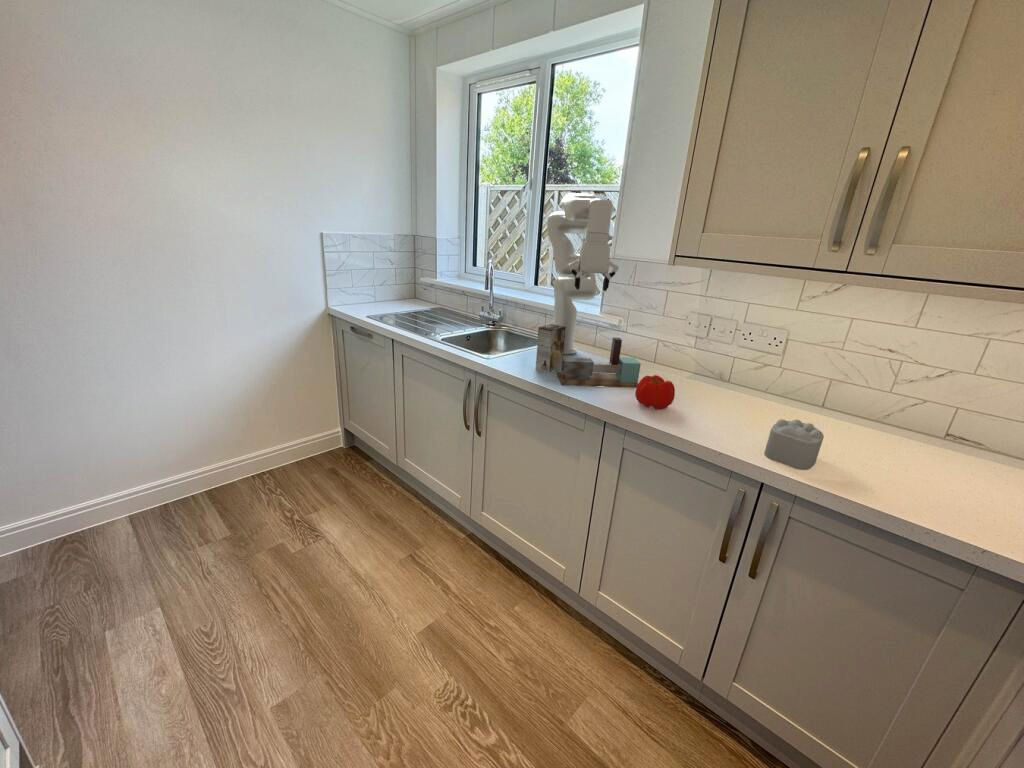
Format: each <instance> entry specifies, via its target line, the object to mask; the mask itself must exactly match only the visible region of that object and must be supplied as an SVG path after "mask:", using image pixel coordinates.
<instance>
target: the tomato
mask: <svg viewBox="0 0 1024 768" xmlns="http://www.w3.org/2000/svg"><path fill="white" fill-rule="evenodd" d="M675 393H676V389H675V385H674V384H673V382H672V381H670V380H666V381H665V379H664V378H663V377H661V376H660V375H656V374H654V375H645V376H643V377H642V378H641V379H640V380H639V381H638V385H637V388H635V398H636V400H637V402H638V403H639V404H640V405H642V406H643V407H645V408H653V409H655V410H658V411H661V410H665V409H667V408H668V407H670V405H672V404H673V402H674V400H675V396H676V394H675Z"/></svg>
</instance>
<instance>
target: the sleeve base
mask: <svg viewBox="0 0 1024 768" xmlns="http://www.w3.org/2000/svg"><path fill="white" fill-rule="evenodd" d="M594 362H595V361H593V360H592V358H587V357H585V358H584V357H565V356H563V358H562V368H560V369H561V370H560V371H559V370H556V376H557V378H559V379H558V381H559V382H560V385H561V386H569V385H572V386H573V385H574V387H596V386H604V387H603V388H605V387H606V388H623V389H624V388H627V389H628V388H629V389H636V388H637V385H638V383H639V382H638V383H628V382H620V381H619V380H618V378H617V377H616V376H615V374H616V373H593V365H594Z"/></svg>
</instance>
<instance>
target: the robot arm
mask: <svg viewBox="0 0 1024 768" xmlns="http://www.w3.org/2000/svg"><path fill="white" fill-rule="evenodd" d="M561 209H562V211H554V212H552V213H551V214H550V215H549V216H548V218H547V221H546V229H547V236H548V239H549V241H550V244H551V247H552V251H553V260H554V268H555V272H556V275H557V276H559V277H557V278H556V279H555V281H554V283H553V284H554V285H553V293H554V304H553V305H554V309H553V320H552V324H554V325H559V326H565V327H566V329H565V340H564V351H563V355H574V354H576V353H577V348H576V347H574V341H575V332H576V325H577V324H576V323H577V322H576V321H577V314H578V312H577V311H578V310H577V308H576V306H575V304H574V303H573V301H590V300H593V299H595V297H596V295H597V292H598V291H597V289H598V288H597V279H596V278H597V277H596V274H603V276H604V278H603V284H602V290H603V291H604V292H607V290H608V289H609V286H610V280H611V279H612V278H613V277H614V276H615V275H616V273H617V272H618V270H619V269H620V266H618V265H617V264H615V263H614V262H612V261H611V248H610V247H611V246H610V243H609V241H613V239H614V237H613V235H610V228H611V220H612V213H613V201H612V200H610V199H606V198H598V197H597V196H596V195H595V194H590V193H580V192H579V193H578V192H577V193H576V192H571V193H568V194H565V196H563V198H562V199H561ZM565 234H573V235H574V234H575V235H583V234H585V241H583V242H582V245H581V247H580V251H579V253H575V251H574V244H573V243H572V241H571V240H570V238H569V237H567V236H566V235H565ZM610 267H611V268H612V271H610V272H609V269H610Z"/></svg>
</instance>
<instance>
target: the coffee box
mask: <svg viewBox="0 0 1024 768" xmlns="http://www.w3.org/2000/svg"><path fill="white" fill-rule="evenodd" d="M565 329H566V327H565V326H559V325H554V324H553V323H551V324H546V325H543V326H539V327H538V332H537V347H536V361H535V370H537V369H538V370H537V371H540V370H542V371H541V372H544V371H545V373H548V372H549V373H548V374H550V373H553V372H555V371H558V370H559V369H561V368H562V358H563V357H564V354H563V351H564V340H565ZM552 371H553V372H552Z"/></svg>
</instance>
